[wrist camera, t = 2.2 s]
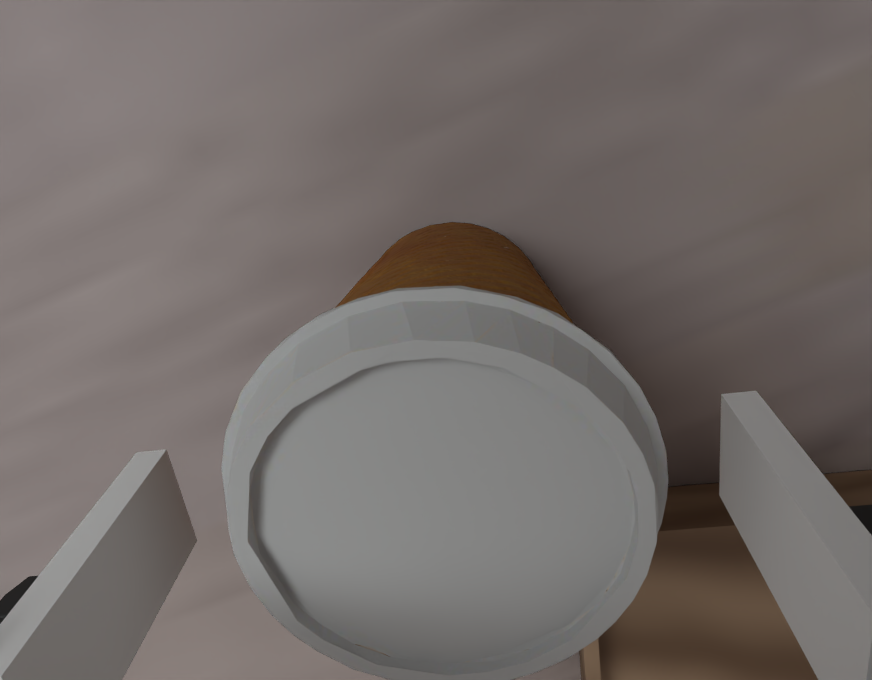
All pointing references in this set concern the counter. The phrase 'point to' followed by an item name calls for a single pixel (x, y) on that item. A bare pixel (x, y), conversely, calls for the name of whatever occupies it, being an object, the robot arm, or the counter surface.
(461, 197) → the counter surface
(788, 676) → the box
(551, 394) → the disposable coffee cup
